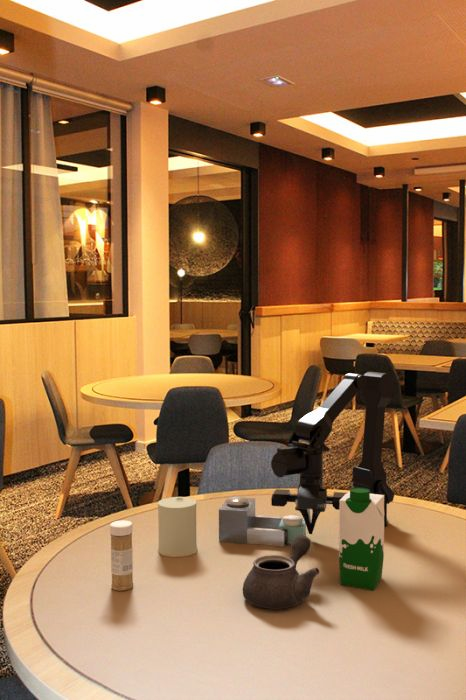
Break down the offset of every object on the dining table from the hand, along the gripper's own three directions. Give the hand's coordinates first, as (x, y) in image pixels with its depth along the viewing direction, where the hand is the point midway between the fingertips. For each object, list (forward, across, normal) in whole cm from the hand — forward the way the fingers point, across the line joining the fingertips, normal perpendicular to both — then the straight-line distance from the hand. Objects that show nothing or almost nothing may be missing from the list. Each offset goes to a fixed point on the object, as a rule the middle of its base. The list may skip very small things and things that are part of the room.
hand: (310, 533), depth 174 cm
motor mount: (+2, -13, 0) cm, 14 cm away
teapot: (+2, -2, -33) cm, 33 cm away
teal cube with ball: (+2, -4, 0) cm, 5 cm away
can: (+2, -30, -13) cm, 33 cm away
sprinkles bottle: (+2, -35, -36) cm, 50 cm away
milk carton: (+2, +13, -23) cm, 26 cm away
